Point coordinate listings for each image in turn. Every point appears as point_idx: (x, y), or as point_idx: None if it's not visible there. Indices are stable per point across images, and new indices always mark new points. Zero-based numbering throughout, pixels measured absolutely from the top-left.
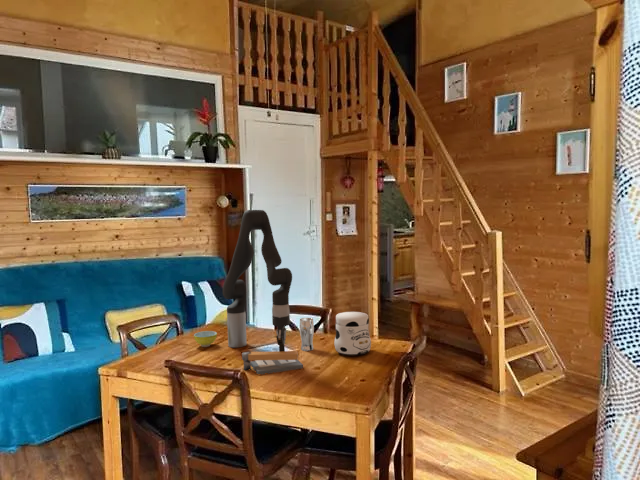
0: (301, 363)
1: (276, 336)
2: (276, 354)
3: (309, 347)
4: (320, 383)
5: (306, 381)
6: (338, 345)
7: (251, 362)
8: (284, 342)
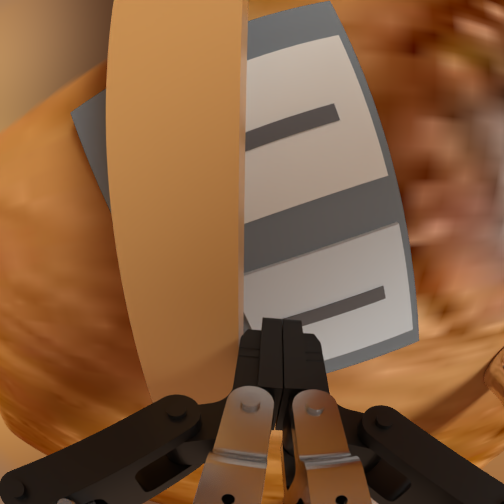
0: None
1: (11, 495)
2: (128, 304)
3: (492, 387)
4: (61, 404)
5: (58, 372)
6: (372, 502)
7: (301, 9)
8: (282, 452)
